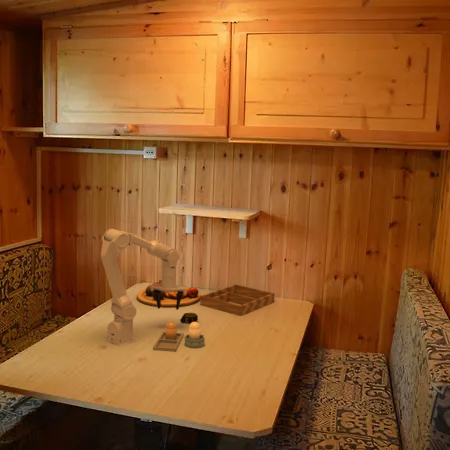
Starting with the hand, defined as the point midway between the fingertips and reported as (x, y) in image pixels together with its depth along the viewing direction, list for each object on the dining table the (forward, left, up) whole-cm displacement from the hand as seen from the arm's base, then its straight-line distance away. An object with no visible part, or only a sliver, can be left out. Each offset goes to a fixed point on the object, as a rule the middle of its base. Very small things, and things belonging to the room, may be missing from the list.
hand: (168, 308), depth 215 cm
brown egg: (-7, -8, -9) cm, 14 cm away
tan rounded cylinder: (-6, -19, -7) cm, 21 cm away
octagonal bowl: (-6, -19, -9) cm, 22 cm away
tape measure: (+13, 0, -10) cm, 16 cm away
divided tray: (-11, -10, -9) cm, 18 cm away
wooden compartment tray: (+50, 0, -9) cm, 51 cm away
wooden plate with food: (+34, +31, -10) cm, 47 cm away
